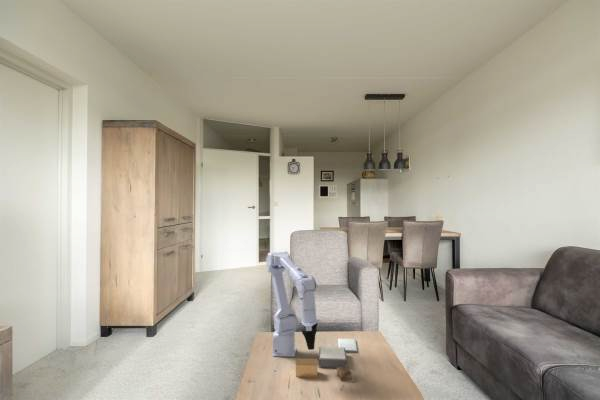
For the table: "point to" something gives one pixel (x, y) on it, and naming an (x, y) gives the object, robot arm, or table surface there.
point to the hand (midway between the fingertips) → (311, 346)
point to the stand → (332, 357)
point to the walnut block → (344, 373)
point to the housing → (306, 368)
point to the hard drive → (348, 345)
